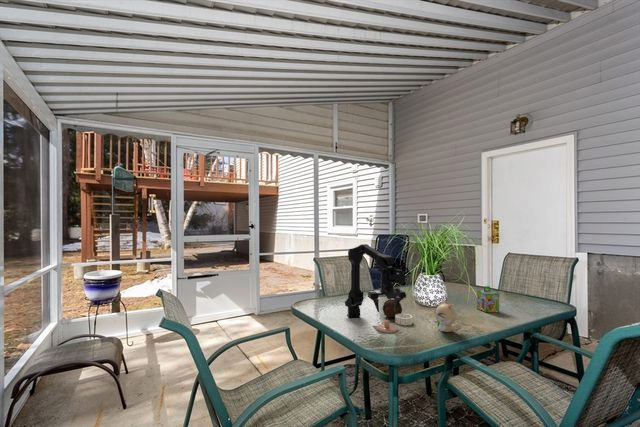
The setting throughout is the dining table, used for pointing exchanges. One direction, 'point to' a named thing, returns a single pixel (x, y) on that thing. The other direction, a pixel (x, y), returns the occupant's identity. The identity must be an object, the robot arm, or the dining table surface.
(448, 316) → the kitten
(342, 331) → the dining table surface
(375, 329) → the mat
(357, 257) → the robot arm
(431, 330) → the dining table surface
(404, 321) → the bowl
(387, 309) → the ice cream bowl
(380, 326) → the lid
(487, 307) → the chalk box
